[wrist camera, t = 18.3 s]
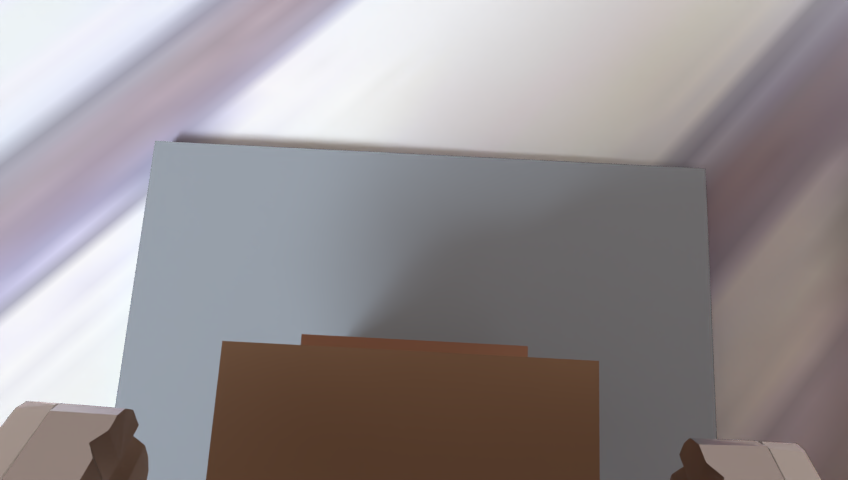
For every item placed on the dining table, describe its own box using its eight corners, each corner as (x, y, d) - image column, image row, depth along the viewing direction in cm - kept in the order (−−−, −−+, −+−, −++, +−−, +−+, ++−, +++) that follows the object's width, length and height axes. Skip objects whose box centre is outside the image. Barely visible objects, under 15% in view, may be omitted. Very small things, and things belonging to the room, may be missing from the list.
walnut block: (506, 528, 16) (600, 703, 8) (312, 516, 16) (182, 677, 8) (509, 357, 17) (598, 337, 8) (326, 348, 17) (225, 318, 9)
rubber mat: (696, 174, 19) (705, 168, 18) (721, 798, 16) (732, 814, 15) (163, 148, 19) (154, 140, 19) (73, 757, 16) (60, 772, 15)
